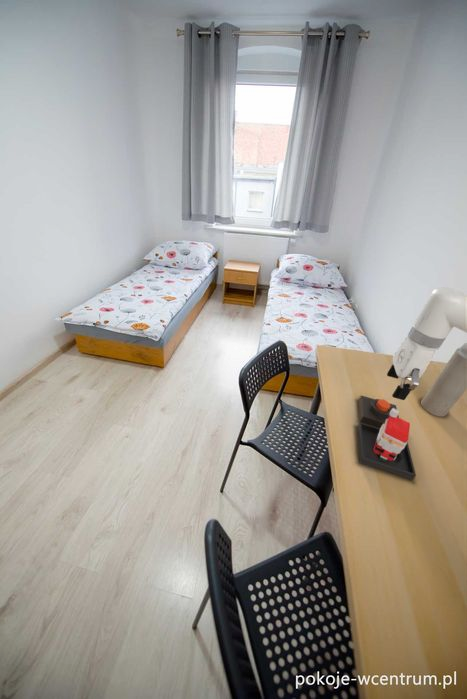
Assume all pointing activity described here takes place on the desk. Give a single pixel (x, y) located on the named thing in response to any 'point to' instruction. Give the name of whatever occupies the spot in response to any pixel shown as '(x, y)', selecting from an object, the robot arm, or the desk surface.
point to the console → (372, 412)
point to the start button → (383, 405)
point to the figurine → (392, 437)
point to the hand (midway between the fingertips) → (394, 386)
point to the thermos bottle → (448, 384)
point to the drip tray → (371, 459)
